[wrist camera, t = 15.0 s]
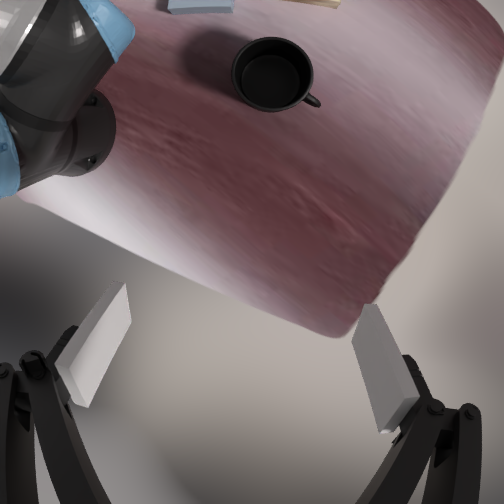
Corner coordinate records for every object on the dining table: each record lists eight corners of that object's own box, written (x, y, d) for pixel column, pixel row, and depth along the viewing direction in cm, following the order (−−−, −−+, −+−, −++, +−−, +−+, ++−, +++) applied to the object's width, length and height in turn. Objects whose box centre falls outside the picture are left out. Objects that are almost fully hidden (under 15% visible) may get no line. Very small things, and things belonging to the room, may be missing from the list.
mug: (297, 133, 41) (306, 137, 33) (225, 93, 39) (216, 87, 30) (330, 82, 37) (346, 75, 29) (258, 41, 35) (257, 23, 27)
